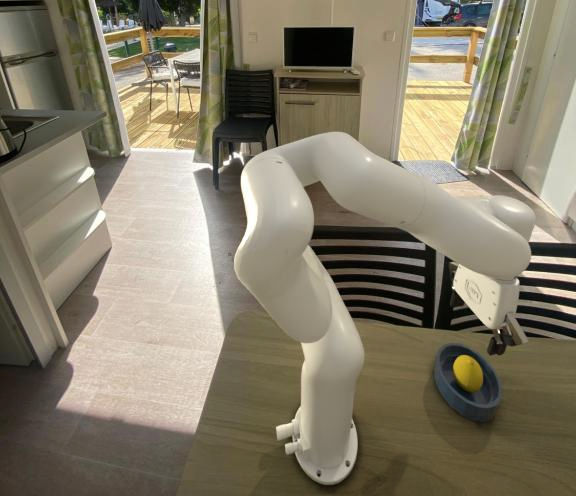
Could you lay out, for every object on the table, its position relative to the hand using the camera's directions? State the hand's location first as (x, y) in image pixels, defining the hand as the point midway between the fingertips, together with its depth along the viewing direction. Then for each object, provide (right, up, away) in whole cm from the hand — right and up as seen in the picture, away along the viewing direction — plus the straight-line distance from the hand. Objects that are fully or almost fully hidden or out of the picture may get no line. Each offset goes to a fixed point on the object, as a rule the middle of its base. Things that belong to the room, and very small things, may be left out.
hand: (474, 327), depth 60 cm
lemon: (+1, -17, +5) cm, 18 cm away
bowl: (+1, -17, +5) cm, 18 cm away
